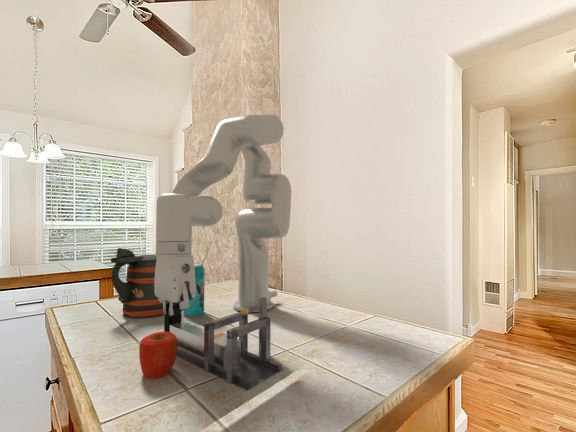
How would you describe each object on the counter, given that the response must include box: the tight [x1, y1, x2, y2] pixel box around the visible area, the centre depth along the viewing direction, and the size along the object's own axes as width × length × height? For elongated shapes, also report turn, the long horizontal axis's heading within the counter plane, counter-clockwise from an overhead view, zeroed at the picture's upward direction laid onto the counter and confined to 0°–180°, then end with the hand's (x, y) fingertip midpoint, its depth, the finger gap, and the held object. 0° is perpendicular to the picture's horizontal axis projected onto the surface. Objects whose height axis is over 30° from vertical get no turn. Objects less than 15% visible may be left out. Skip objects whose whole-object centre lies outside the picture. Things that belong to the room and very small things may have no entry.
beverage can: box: [182, 262, 205, 318], centre depth 87 cm, size 6×6×15 cm
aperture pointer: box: [240, 297, 268, 356], centre depth 58 cm, size 6×2×12 cm, turn 142°
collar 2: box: [225, 316, 271, 385], centre depth 53 cm, size 9×1×9 cm, turn 142°
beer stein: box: [110, 247, 165, 319], centre depth 91 cm, size 19×15×20 cm
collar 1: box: [203, 311, 249, 373], centre depth 57 cm, size 9×1×9 cm, turn 142°
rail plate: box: [176, 346, 285, 391], centre depth 60 cm, size 9×32×2 cm, turn 52°
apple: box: [138, 331, 178, 380], centre depth 53 cm, size 6×6×8 cm
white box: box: [170, 320, 241, 367], centre depth 61 cm, size 18×4×4 cm, turn 51°
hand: (172, 331), depth 68 cm, fingers closed
